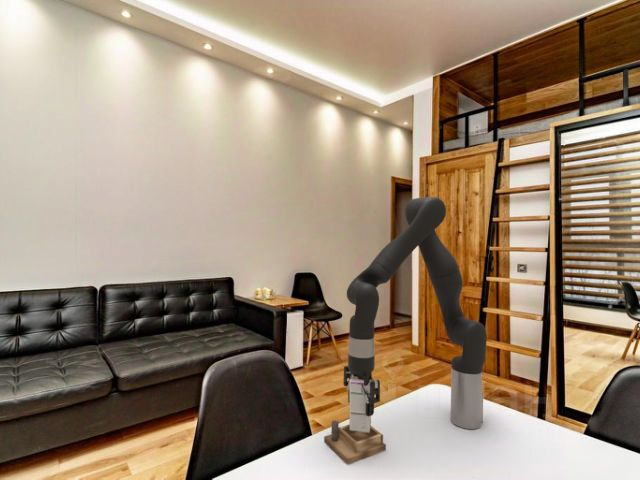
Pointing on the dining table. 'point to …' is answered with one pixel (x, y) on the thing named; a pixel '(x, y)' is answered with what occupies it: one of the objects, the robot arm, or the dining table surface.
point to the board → (354, 442)
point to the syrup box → (358, 406)
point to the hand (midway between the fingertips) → (360, 408)
